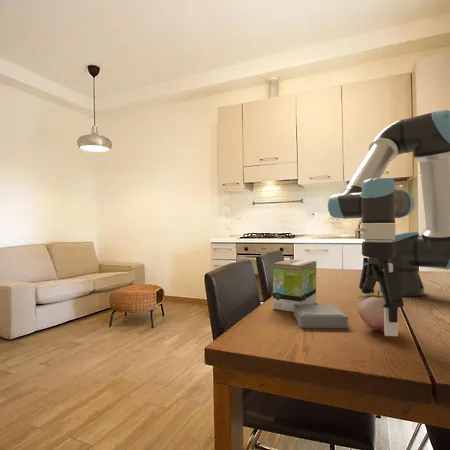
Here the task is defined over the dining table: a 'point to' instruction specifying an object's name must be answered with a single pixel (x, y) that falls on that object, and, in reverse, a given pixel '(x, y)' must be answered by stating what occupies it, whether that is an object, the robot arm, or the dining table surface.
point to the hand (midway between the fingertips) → (378, 326)
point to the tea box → (294, 283)
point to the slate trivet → (320, 316)
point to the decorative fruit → (372, 310)
